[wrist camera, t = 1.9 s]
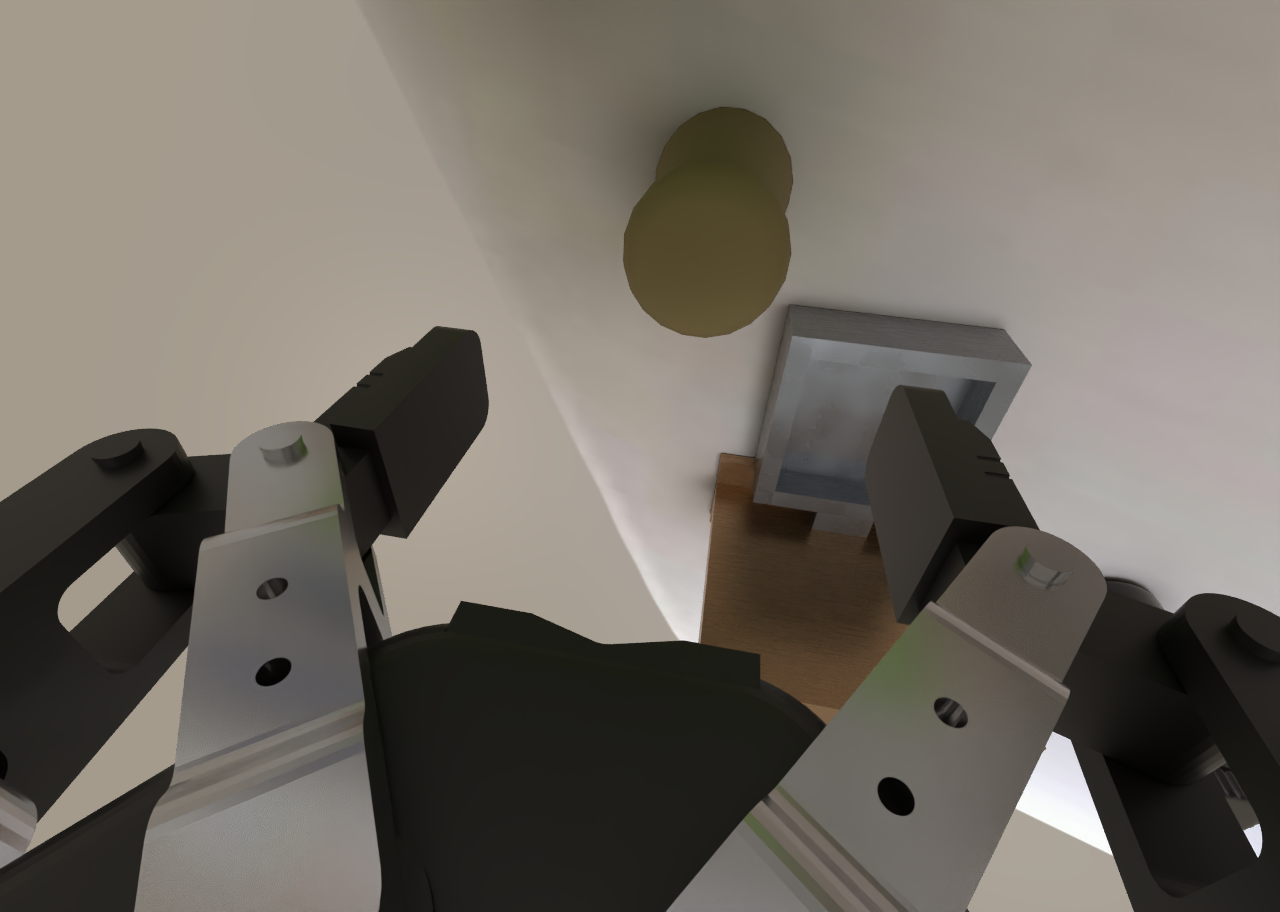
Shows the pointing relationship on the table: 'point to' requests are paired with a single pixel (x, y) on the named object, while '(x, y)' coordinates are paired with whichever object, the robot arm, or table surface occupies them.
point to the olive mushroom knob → (712, 225)
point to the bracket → (831, 494)
